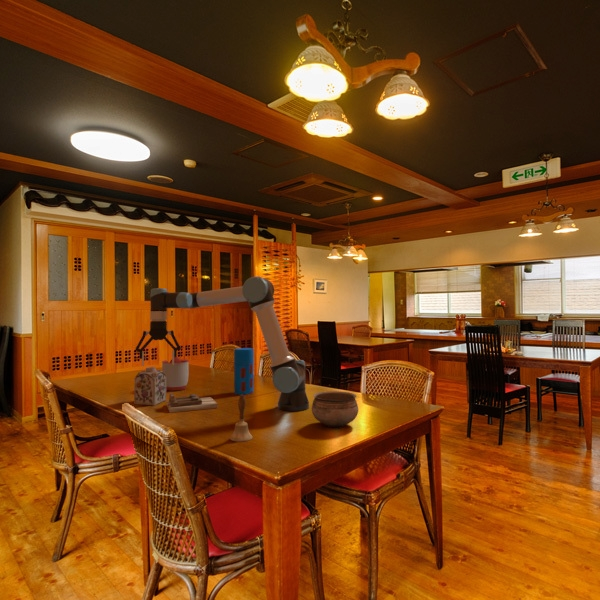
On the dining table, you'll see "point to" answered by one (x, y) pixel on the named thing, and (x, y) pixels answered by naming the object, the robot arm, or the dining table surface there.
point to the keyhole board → (206, 404)
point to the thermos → (243, 371)
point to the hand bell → (241, 425)
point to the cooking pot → (335, 408)
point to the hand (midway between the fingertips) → (158, 365)
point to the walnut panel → (182, 400)
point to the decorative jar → (150, 387)
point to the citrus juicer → (176, 374)
